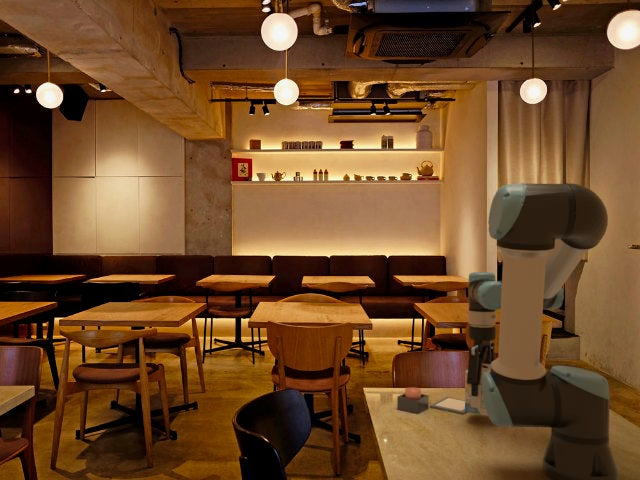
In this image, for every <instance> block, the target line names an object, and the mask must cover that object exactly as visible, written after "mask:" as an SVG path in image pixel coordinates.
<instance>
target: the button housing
mask: <svg viewBox="0 0 640 480" xmlns="http://www.w3.org/2000/svg"><path fill="white" fill-rule="evenodd" d="M396 399H397V400H396V401H397V405H396V406H397V407H396V408H397V410H399V411H403V412H407V413H412V414H416V415H418V414H420V413H423V412H424V411H426V410H428V409H429V408H430V405H429V403H430V402H429V400H430V399H429V395H428V394H422V393H421V398H419V399H417V400H416V399H411V398H406V397H405V392H404V393H402V394H399V395H397V398H396Z"/></svg>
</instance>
